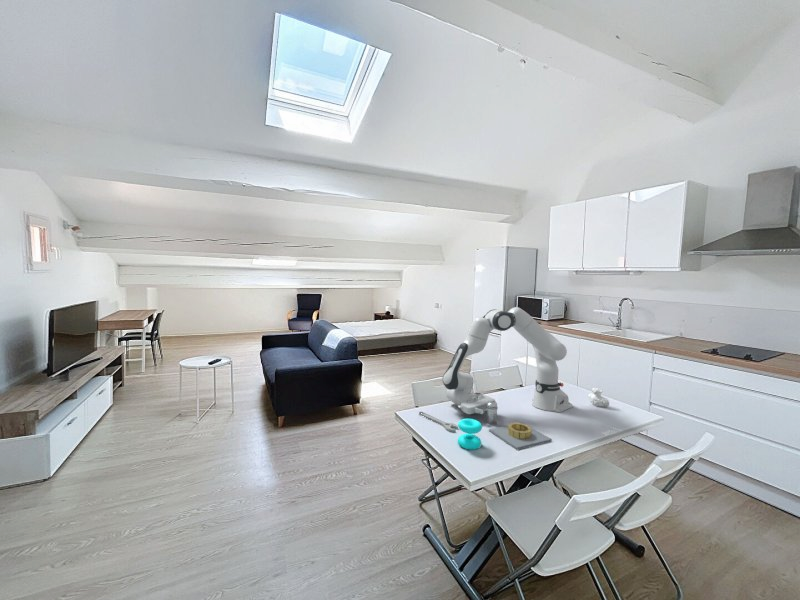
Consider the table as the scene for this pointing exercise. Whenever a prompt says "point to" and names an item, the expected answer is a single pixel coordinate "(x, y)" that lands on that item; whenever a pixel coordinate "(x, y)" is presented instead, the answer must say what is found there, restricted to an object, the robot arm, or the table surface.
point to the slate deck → (519, 443)
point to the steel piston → (491, 413)
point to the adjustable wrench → (441, 422)
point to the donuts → (469, 434)
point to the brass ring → (519, 431)
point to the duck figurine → (598, 398)
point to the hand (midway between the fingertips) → (490, 410)
